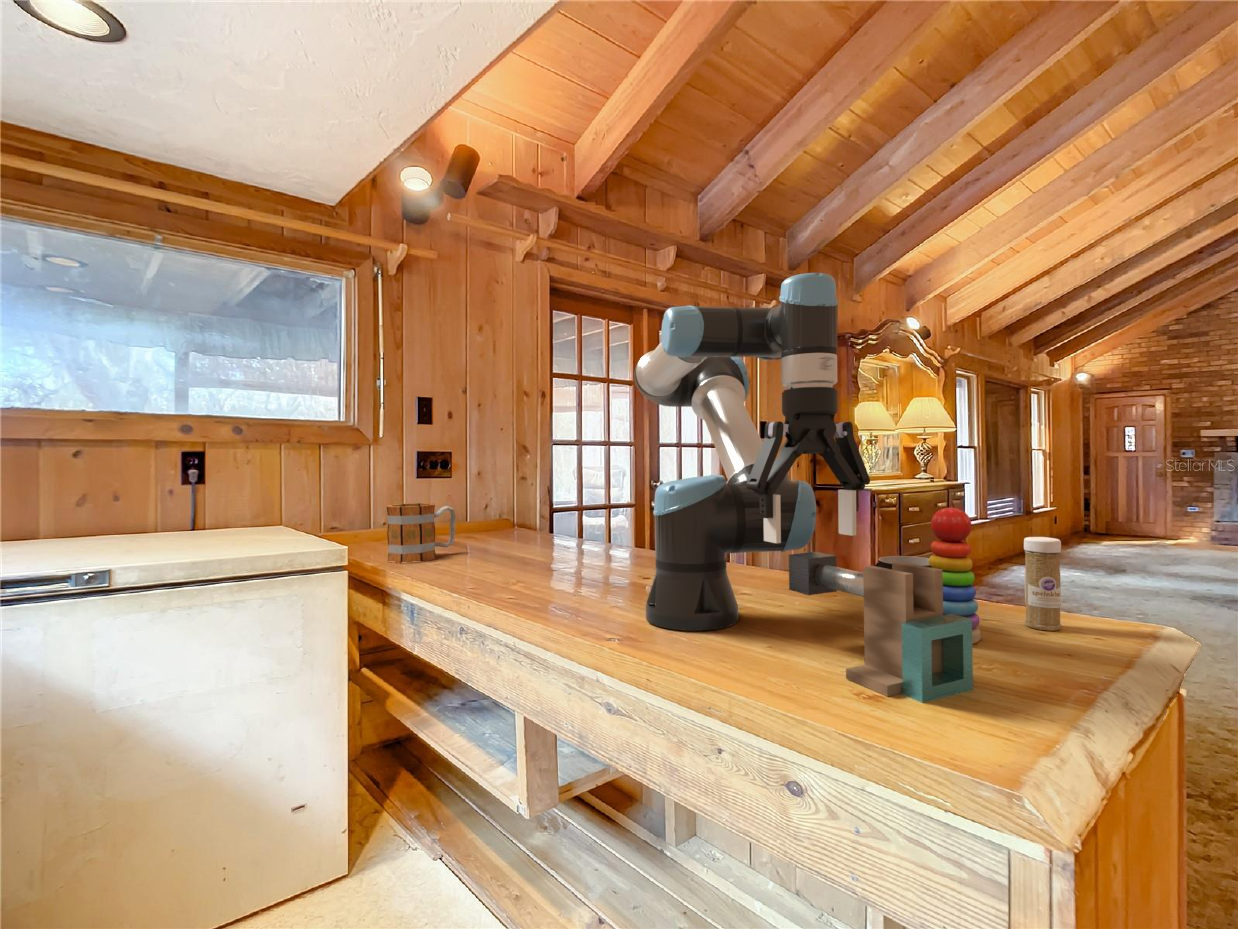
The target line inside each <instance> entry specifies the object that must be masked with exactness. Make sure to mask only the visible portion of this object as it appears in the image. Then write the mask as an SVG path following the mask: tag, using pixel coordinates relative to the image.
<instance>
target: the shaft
mask: <svg viewBox="0 0 1238 929" xmlns="http://www.w3.org/2000/svg"><path fill="white" fill-rule="evenodd" d="M788 586H789V587H788V589H789V591H793V592H797V593H799V594H802V595H806V596H813V595H821V594H828V593H833V592H834V593H835V592H838V591H839V592H842V593H846V594H850V595H853V596H858V597H862V598H864V584H863V571H856V570H854V569H853V570H851V569H847V568H843V567H839V566H837V555H835V554H829V553H823V552H818V551H812V552H811V551H810V552H801V553H794V554H793V553H792V554H788ZM914 594H915V593H914V588H913V600H914Z"/></svg>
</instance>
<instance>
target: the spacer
mask: <svg viewBox="0 0 1238 929" xmlns="http://www.w3.org/2000/svg"><path fill="white" fill-rule="evenodd" d="M941 638H943V672H940V673H936V674H932V649H931V640H936V639H941ZM973 659H974V658H973V644H972V619H970V618H966V617H962V616H958V615H954V614H948V615H942V616H936V617H931V618H925V619H920V620H914V621H909V622H903V623H902V676H903V693H902V695H903V696H905V697H907V698H909V699H912V700H914V701H917V702H920V703H922V704H924V703H928V702H932V701H935V700H939V699H943V698H947V697H948V698H949V697H950V696H954V695H955V696H956V695H957V694H958V695H959V694H963V693H966V692H970V691H973V690H974V682H973V681H974V675H973V674H974V671H973V669H974V668H973V667H974V666H973V664H974V663H973Z"/></svg>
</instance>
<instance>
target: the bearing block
mask: <svg viewBox="0 0 1238 929" xmlns="http://www.w3.org/2000/svg"><path fill="white" fill-rule="evenodd" d="M862 567H863V569H862V570H863V571H862V573H863V584H864V597H863V626H864V627H863V631H864V633H863V634H864V639H863V640H864V642H863V643H864V645H863V646H864V664H861V665H857V666H851V667H848V668H845V679H846V680H849V681H851V682H853V683H855V684H857V685H860V686H863V687H864V688H867V689H869V690H871V691H874V692H876V693H878V694H881V695H883V696H885V697H892V696H894V695H900V694H903V676H902V623H903V622H909V621H914V620H920V619H925V618H931V617H936V616H942V615H943V572H942V569H936V568H931V567H925V566H920V565H914V564H909V563H903V562H894V563H892V569H887V568H882V567H876V566H875V565H871V564H870V565H863V566H862ZM913 588H914V593H915V594H914V600H913ZM931 649H932V674H936V673H940V672H943V638H941V639H936V640H931Z"/></svg>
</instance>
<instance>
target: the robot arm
mask: <svg viewBox="0 0 1238 929" xmlns="http://www.w3.org/2000/svg"><path fill="white" fill-rule="evenodd" d="M836 284H837V283H836V280H835V278H834V277H833V276H832V275H831V274H828V273H823V272H807V273H800V274H795V275H791V276H790V277H787V278H785V279H784V281H783V282H781V286H780V293H779V294H780V295H779V300H778V301H779V302H780V304H778V305H776V306H775V307H746V306H745V307H739V306H738V307H736V306H735V307H733V306H731V307H729V306H698V305H697V306H695V305H689V304H688V305H684V306H682V305H681V306H671V307H668V308H667V309H666V310H665V312H664V314H663V318H662V321H661V333H660V334H661V335H660V336H661V342H660V343H659V344H658V345H657V347H655V349H654V350H651V351H648V352H647V353H644V355H642V356H641V357H640V359H639V360H638V361H637V364H636V366H635V369H634V375H633V377H634V378H633V379H634V383H635V387H636V388H637V390H638V391H639V394H640V393H641V395H642V396H643V397H645V399H647V400H649V401H650V402H652V403H654V404H656V405H659V406H664V407H669V408H671V407H674V408H675V407H677V408H679V407H681V408H682V407H686V408H688V407H691V408H692V411H693V412H694V414H695V416H697V417H698V418H699V419H701V420H703V421H704V423H705V424H706V427H707V430H708V432H709V435H710V437H711V440H712V443H713V446H714V448H715V451H716V453H717V456H718V458H719V461H720V464H721V467H722V469H723V471H724V473H725V476H724V475H722V474H714V475H713V474H710V475H705V476H703V475H702V476H693V477H688V478H681V479H674V480H671V481H668V482H667V481H666V482H664V483H663V482H662V483H661V484H660V485H659V486H657V488H656V490H655V492H654V501H653V502H654V504H653V506H654V507H653V515H654V541H655V542H654V547H655V548H654V551H655V553H654V554H655V572H654V576H653V580H652V584H651V588H650V590H649V594H648V597H647V600H646V603H645V618H646V621H647V622H648V623H650V624H651V625H654V626H656V627H661V628H664V629H668V630H669V629H670V630H677V631H694V632H695V631H698V632H699V631H711V630H712V631H713V630H718V629H724V628H727V627H731V626H733V625H735V624H736V623H737V622H739V605H738V602H737V599H736V596H735V593H734V590H733V587H732V584H731V581H730V578H729V575H728V570H727V556H728V555H727V554H741V553H745V554H746V553H761V552H762V553H765V552H780V553H785V552H788V551H797V550H802V549H803V548H805V547H806V546H808V544H809V543H810V541H811V539H812V537H813V534H814V532H815V528H816V527H815V526H816V521H817V503H816V496H815V492H814V489H813V487H812V486H811V484H810V483H808V482H807V481H804V480H803V481H802V480H801V479H797V480H796V481H795V480H792V478H790V475H789V472H790V470H791V468H792V466H793V465H794V464H795V462H796V460H798V459H799V457H801V456H802V455H809V454H811V455H812V454H815V455H816V454H817V455H819V456H820V457H822V459H823V460H824V461H825V463H826V464H827V466H828V468H829V469H830V471H831V472H832V473H833V475H834V476H835V477H836V480H838V482H839V484H840V485H841V486H842V488H843V489H838V490H837V494H838V495H837V499H838V500H837V504H838V505H837V506H838V513H837V514H838V515H837V516H838V521H837V522H838V534H839V535H846V536H852V537H853V536H857V512H858V510H859V507H860V506H859V490H860V491H864V490H865V488H866V485H869V484H870V483H871V479H870V476H869V473H868V470H867V467H866V466H865V463H864V460H863V458H862V454H861V452H860V449H859V447H858V444H857V442H856V439H855V437H854V428H853V427H854V426H853V422H851V421H839V422H835V415H837V413H838V411H839V394H838V393H839V392H838V389H837V388H836V387H833V386H834V385H836V384H837V383H838V305H839V301H838V299H837V285H836ZM743 358H757V359H758V360H761V361H768V362H769V361H777V360H781V361H780V362H781V364H780V365H781V369H780V370H781V372H780V373H781V379H780V380H781V382H780V383H781V385H782V387H784V388H785V389H783V391H782V392H781V413H782V416H784V419H785V420H784V423H783V421H781V420H780V421H769V422H766V423H765V425H764V438H763V440H762V438H761V437H760V434H759V432H758V430H757V428H756V426H755V424H754V422H753V420H752V418H751V416H750V414H749V411H748V410H747V408H746V406H745V401H746V400H747V398H748V395H749V389H750V378H749V376H748V372H749V371H748V367H747V365H746V363H745V362H744V360H743ZM784 437H785V438H786V439H785V441H784V443H783V438H784ZM834 438H835V439H834ZM782 443H783V444H782ZM781 445H782V446H781ZM778 453H779V454H778ZM725 477H726V478H725ZM726 479H727V481H726Z"/></svg>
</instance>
